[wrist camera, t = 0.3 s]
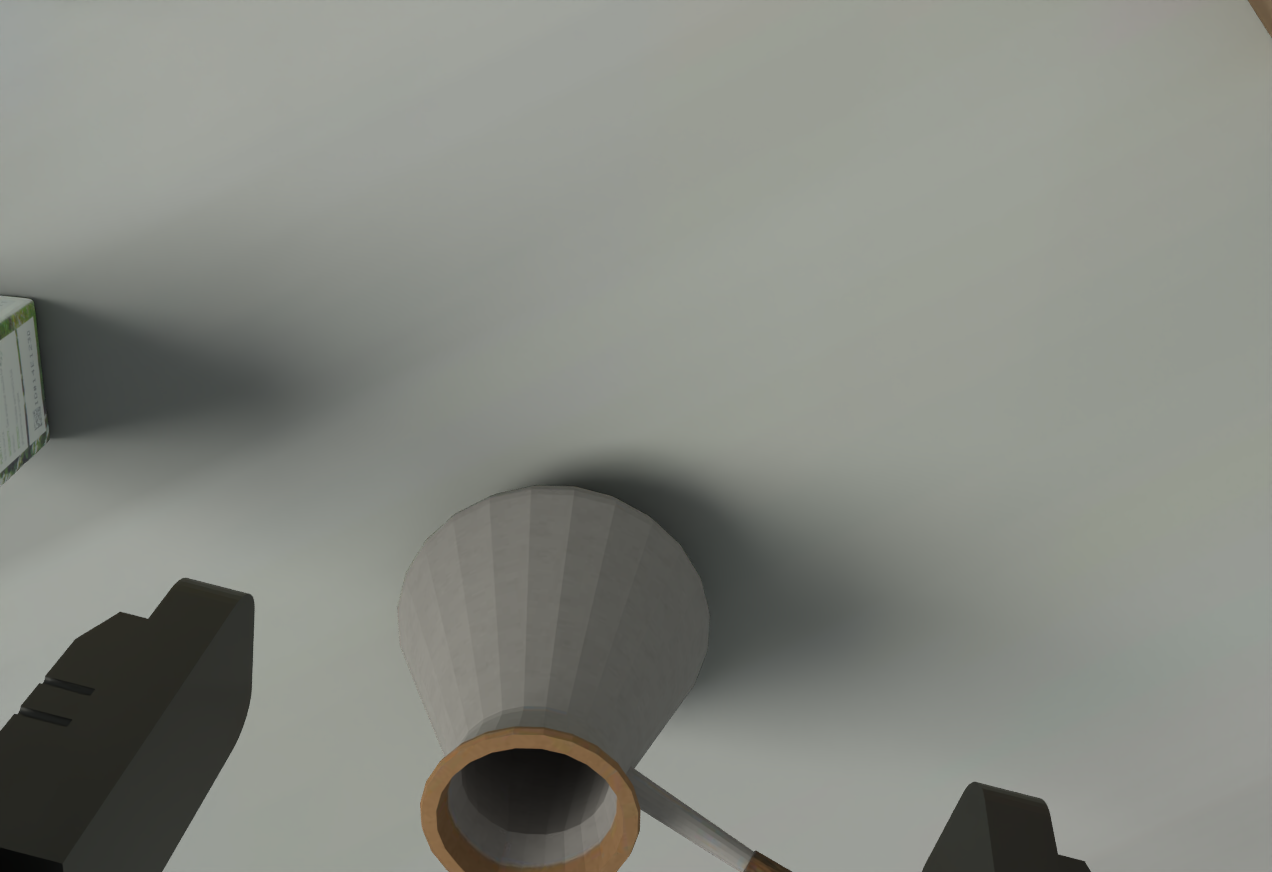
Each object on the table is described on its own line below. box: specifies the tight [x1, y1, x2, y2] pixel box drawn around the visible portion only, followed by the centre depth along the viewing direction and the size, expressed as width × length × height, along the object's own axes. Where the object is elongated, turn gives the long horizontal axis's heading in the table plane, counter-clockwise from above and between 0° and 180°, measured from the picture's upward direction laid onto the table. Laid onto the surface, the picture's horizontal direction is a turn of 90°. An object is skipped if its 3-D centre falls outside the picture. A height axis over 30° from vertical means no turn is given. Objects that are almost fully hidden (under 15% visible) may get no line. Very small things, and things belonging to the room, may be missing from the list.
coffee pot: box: [397, 485, 792, 872], centre depth 40 cm, size 21×12×15 cm, turn 66°
